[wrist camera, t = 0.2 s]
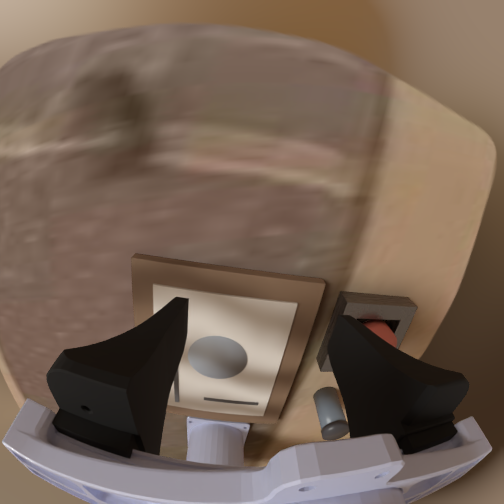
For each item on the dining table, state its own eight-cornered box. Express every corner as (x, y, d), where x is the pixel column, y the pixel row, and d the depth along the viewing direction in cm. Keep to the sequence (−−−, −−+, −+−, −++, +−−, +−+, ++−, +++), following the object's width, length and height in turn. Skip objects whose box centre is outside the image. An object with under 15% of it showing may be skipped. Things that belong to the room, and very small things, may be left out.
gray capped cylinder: (331, 401, 29) (343, 438, 23) (309, 402, 28) (318, 441, 23) (340, 386, 28) (354, 424, 22) (317, 386, 27) (328, 427, 22)
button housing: (380, 358, 26) (386, 369, 25) (316, 358, 26) (320, 371, 24) (408, 297, 24) (417, 307, 22) (340, 291, 23) (347, 302, 21)
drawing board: (275, 417, 29) (276, 425, 28) (148, 402, 28) (146, 409, 27) (322, 278, 23) (326, 285, 21) (135, 253, 21) (130, 258, 20)
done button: (378, 354, 24) (385, 367, 22) (341, 355, 24) (347, 368, 22) (394, 319, 23) (404, 331, 21) (356, 318, 22) (364, 331, 21)
